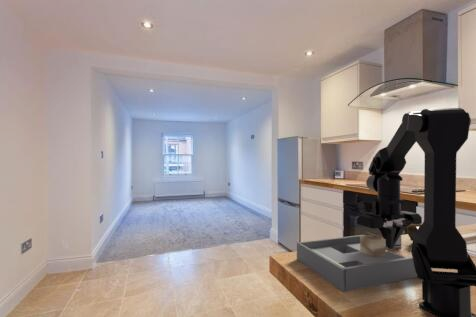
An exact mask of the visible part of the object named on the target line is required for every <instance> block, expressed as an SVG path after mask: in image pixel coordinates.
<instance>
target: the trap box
mask: <svg viewBox="0 0 476 317" xmlns="http://www.w3.org/2000/svg"><path fill="white" fill-rule="evenodd" d="M360 236H366V234H358V235H350V236H342V237H340V236H339V237H335V238H334V237H333V238H326V239H325V238H324V239H315V240H307V241H299V242H296V260H298V262H300V263H301V264H303V265H305V267H307V268H309V269H310V270H311V271H313V272H314V273H315V274H317V275H318V276H319V277H321V278H323V279H324V280H325V281H327V282H328V283H329V284H331V285H332V286H334V287H335V288H337V289H338V290H339V291H340V292H342V293H346V292H350V291H355V290H361V289H365V288H371V287H376V286H381V285H387V284H390V283H395V282H401V281H406V280H409V279H416V278H418V277H417V274H416V271H415V267H414V262H413V257H412V256H406V257H405V256H403V255H399V253H395V252H392V251H390V250H387V249H386V255H385V256H379V257H371V256H369V255H367V254H365V253H362V252H360Z"/></svg>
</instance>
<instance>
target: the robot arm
mask: <svg viewBox="0 0 476 317" xmlns="http://www.w3.org/2000/svg"><path fill="white" fill-rule="evenodd" d="M471 123H472V120H471V116H470V114H469V112H466V110H465V109H464V108H462V107H449V108H447V107H446V108H443V107H442V108H424V109H422V110H420V111H408V112H407V113H406V112H405V113H404V114H403V116H402V119H401V123H400V124H399V127H398V129H397V130H396V131H395V133H394V135H393V137H392V138H391V139H390V141H389V143H388V144H387V145H386V147H384V148H380V149H379V150H377V152H376V153H375V154H374V156H373V157H372V159H371V163H370V164H369V167H368V174H369V176H368V177H367V178H366V181H365V184H366V186H367V188H368V190H370V191H372V192H374V193H375V192H376V193H377V197H374V198H373V202H372V203H371V202H370V203H368V202H367V201H366V200H364V201H359V202H358V211H359V212H360V213H363V214H358V216H357V217H356V225H359V226H362V227H366V228H369V229H378V231H379V232H380V234H381V236H382V238H383V239H386V249H388V250H393V249H394V248H393V247H394V245H395V243H396V242H397V240H398V238H399V237H400V235H401V236H402V234H403V232H404V231H405V229H407V227H408V225H404V224H403V223H404V222H407V221H409V222H411V224H422V225H421V226H420V227H414V229H413V241H412V243H411V249H410V250H411V255H412V256H411V257H413V262H414V267H415V271H416V274H417V277H416V278H418V279H419V280H421V295H422V297H421V298H422V301H419V302H418V307H421V308H423V310H426V311H428V312H430V313H432V314H433V315H435V316H437V317H476V314H475V313H474V312H472V308H471V307H472V304H471V303H472V301H471V299H472V298H471V294H472V293H471V287H476V265H475V263H474V261H473V259H472V258H471V256H470V254H469V252H468V247H467V246H468V245H467V241H466V240H465V238H464V237H463V236H462V233H460V231H459V230H458V228H457V226H456V222H457V221H456V219H457V217H456V214H457V211H456V210H457V209H456V208H457V154H458V152H459V150H460V149H461V148H462V147H463V146H464V144H465V143H466V142H467V140H468V139H469V132H470V126H471ZM416 143H417V145H418V146H419V147H420V149H421V151H423V153H424V178H423V179H424V182H423V184H424V188H423V189H424V191H423V192H424V194H423V196H424V197H423V198H424V199H423V202H424V203H423V205H424V206H423V217H422V216H421V214H419V213H418V212H417V213H416V212H412V211H406V210H402V208H401V204H404V203H405V199H402V198H401V181H403V177H402V176H401V175H400V174H401V173H402V171H403V170H404V168H405V166H406V164H407V160H406V156H407V155H408V153H409V152H410V150H411V149H412V148H413V147H414V145H415V144H416ZM422 218H423V221H422ZM385 219H386V220H385ZM433 269H435V270H433ZM436 269H437V270H436ZM440 269H441V271H440ZM442 270H454V271H442ZM455 271H457V272H455Z"/></svg>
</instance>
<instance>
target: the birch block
mask: <svg viewBox="0 0 476 317" xmlns="http://www.w3.org/2000/svg"><path fill="white" fill-rule="evenodd" d="M365 235H366V234H365ZM386 250H387V246H386V239H383V237H380V236H377V235H374V234H369V235H368V234H367V235H366V236H360V252H362V253H365V254H367V255H369V256H371V257H379V256H385V255H386Z"/></svg>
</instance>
